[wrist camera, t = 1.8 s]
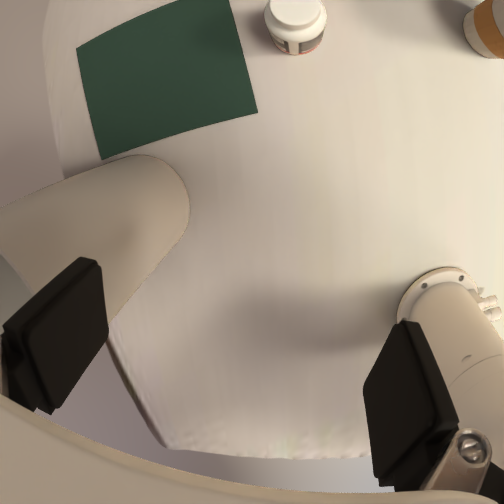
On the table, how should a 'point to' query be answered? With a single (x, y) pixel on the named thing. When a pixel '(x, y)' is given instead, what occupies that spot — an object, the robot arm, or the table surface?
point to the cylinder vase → (93, 230)
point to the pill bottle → (296, 24)
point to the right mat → (165, 75)
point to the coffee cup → (486, 28)
